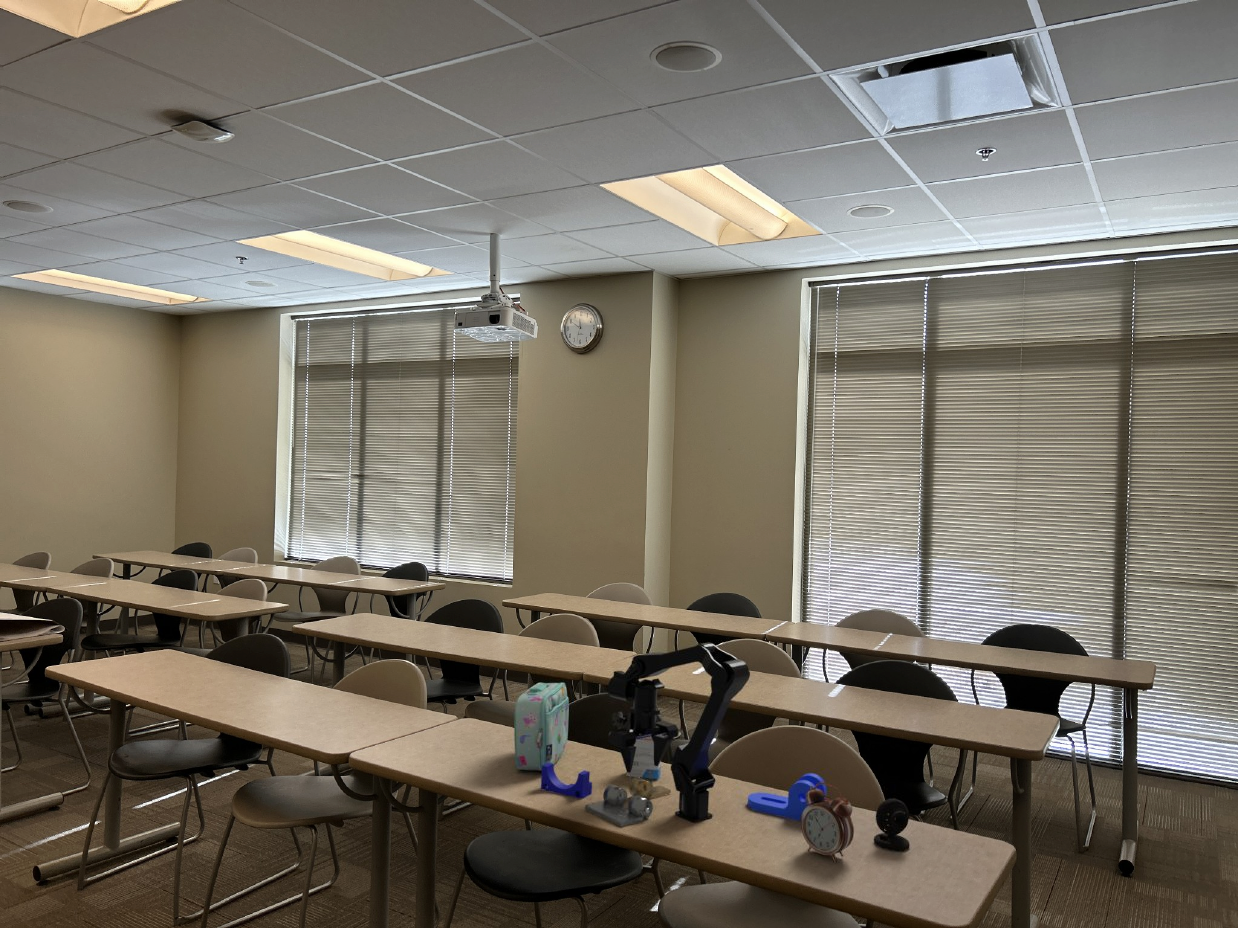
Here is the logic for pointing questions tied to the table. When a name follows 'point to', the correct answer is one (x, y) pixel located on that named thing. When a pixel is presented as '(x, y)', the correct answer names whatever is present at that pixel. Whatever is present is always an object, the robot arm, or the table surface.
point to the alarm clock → (827, 822)
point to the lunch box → (541, 725)
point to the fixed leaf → (621, 807)
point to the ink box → (644, 760)
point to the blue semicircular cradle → (555, 785)
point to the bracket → (787, 798)
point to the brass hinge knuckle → (646, 789)
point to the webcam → (892, 825)
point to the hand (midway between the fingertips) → (642, 768)
